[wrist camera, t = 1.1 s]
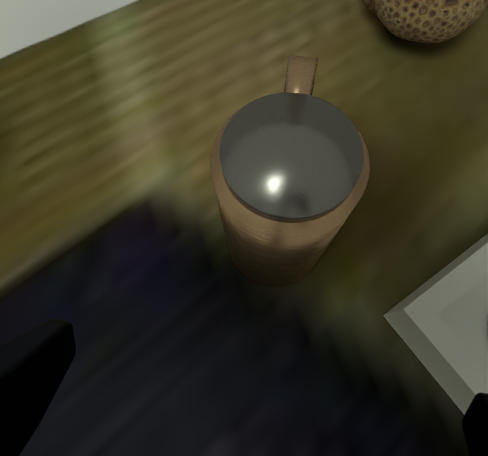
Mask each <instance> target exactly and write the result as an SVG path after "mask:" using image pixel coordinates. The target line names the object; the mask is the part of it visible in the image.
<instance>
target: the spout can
mask: <svg viewBox="0 0 488 456" xmlns="http://www.w3.org/2000/svg"><path fill="white" fill-rule="evenodd" d="M317 62H318V58H313V57H304V56H293V55H289V58H288V66H287V73H286V80H285V88H284V93H277V94H271V95H268V96H264V97H261V98H259V99H256V100H254V101H252V102H251V103H249V104H247V105H246V106H244V107H243V108H241V109H240V110H238V111H237V112H235V113H234V114H233V115H232V116H231V117H230V118H229V119H228V120H227V121H226V122H225V123H224V125H223V126H222V127H221V129H220V130H219V132H218V134H217V136H216V138H215V140H214V143H213V147H212V151H211V158H210V167H211V174H212V179H213V183H214V188H215V192H216V196H217V201H218V205H219V210H220V214H221V218H222V223H223V227H224V232H225V236H226V240H227V245H228V249H229V253H230V256H231V259H232V261H233V263H234V265H235V266H236V268H237V269H238V270H239V271H240V272H241V273H242V274H243V275H244V276H245V277H246V278H248V279H249V280H251V281H253V282H255V283H257V284H260V285H263V286H268V287H282V286H287V285H291V284H293V283H296V282H298V281H299V280H301V279H303V278H304V277H305V276H306V275H307V274H308V273H309V272H310V271H311V270H312V269H313V267H314V266H315V264H316V263H317V262H318V260H319V259H320V257H321V256H322V254H323V253H324V251H325V250H326V248H327V247H328V245H329V244H330V243H331V241H332V240H333V238H334V237H335V235H336V234H337V232H338V231H339V229H340V228H341V226H342V225H343V224H344V222H345V221H346V219H347V218H348V216H349V215H350V213H351V212H352V210H353V209H354V207H355V206H356V205H357V203H358V202H359V200H360V198H361V197H362V195H363V193H364V191H365V189H366V186H367V182H368V179H369V171H370V162H369V155H368V150H367V147H366V144H365V142H364V140H363V138H362V136H361V134H360V132H359V131H358V129H357V128H356V127H355V125H354V124H353V123H352V122H351V120H350V119H349V118H348V117H347V116H346V115H345V114H344V113H343V112H342V111H341V110H339V109H338V108H337V107H335V106H334V105H332V104H331V103H329V102H327V101H325V100H323V99H320V98H318V97H315V96H312V92H313V86H314V80H315V74H316V68H317Z"/></svg>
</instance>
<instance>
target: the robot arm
mask: <svg viewBox="0 0 488 456" xmlns="http://www.w3.org/2000/svg"><path fill="white" fill-rule="evenodd" d="M75 352H76V346H75V339H74V332H73V326H72V324H71V323H70V322H68V321H63V320H57V319H53V320H50V321H47V322H45V323H43V324H41V325H39V326H37V327H35V328H33V329H31V330H29V331H27V332H25V333H23V334H21V335H19V336H17V337H15V338H13V339H11V340H8V341H6V342H4V343H2V344H0V456H19V455H20V453H21V452H22V450H23V449H24V447H25V445H26V444H27V442H28V441H29V439H30V438H31V436H32V435H33V433H34V431H35V430H36V428H37V427H38V425H39V423H40V422H41V420H42V418H43V416H44V414H45V412H46V411H47V409H48V407H49V405H50V403H51V401H52V399H53V397H54V395H55V393H56V391H57V389H58V388H59V386H60V384H61V382H62V380H63V378H64V376H65V374H66V372H67V370H68V368H69V366H70V364H71V363H72V361H73V359H74V356H75ZM462 426H463V432H464V436H465V440H466V444H467V447H468V451H469V455H470V456H488V393H482V392H481V393H478V394H476V395H475V396H474V398H473V400H472V402H471V404H470V406H469V407H468V409H467V411H466V413H465V415H464V417H463V421H462Z"/></svg>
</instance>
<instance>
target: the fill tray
mask: <svg viewBox="0 0 488 456" xmlns="http://www.w3.org/2000/svg"><path fill="white" fill-rule="evenodd" d="M383 316H384V318H385V319H386V320H387V321H388V322H389V324H390V325H391V326H392V327H393V329H394V330H395V331H396V332H397V333H398V335H399V336H400V337H401V338H402V339H403V341H404V342H405V343H406V344H407V346H408V347H409V348H410V349H411V350H412V352H413V353H414V354H415V355H416V357H417V358H418V359H419V360H420V361H421V363H422V364H423V365H424V366H425V368H426V369H427V370H428V371H429V372H430V374H431V375H432V376H433V377H434V379H435V380H436V381H437V382H438V383H439V385H440V386H441V387H442V388H443V390H444V391H445V392H446V393H447V394H448V396H449V397H450V398H451V399H452V401H453V402H454V403H455V404H456V405H457V407H458V408H459V409H460V410H461V412H462V413H463V414H464V415H465V413H466V411H467V409H468V407H469V406H470V404H471V402H472V400H473V398H474V396H475V395H476V394H478V393H481V392H482V393H488V234H486V235H485V236H484V237H482V238H481V239H480V240H479V241H477V242H476V243H475V244H474V245H472V246H471V247H470V248H468V249H467V250H466V251H465V252H463V253H462V254H461V255H459V256H458V257H457V258H456V259H454V260H453V261H452V262H451V263H449V264H448V265H447V266H445V267H444V268H443V269H442V270H440V271H439V272H438V273H436V274H435V275H434V276H433V277H431V278H430V279H429V280H428V281H426V282H425V283H424V284H422V285H421V286H420V287H419V288H417V289H416V290H415V291H413V292H412V293H411V294H410V295H408V296H407V297H406V298H405V299H403V300H402V301H401V302H399V303H398V304H397V305H396V306H394V307H393V308H392V309H390V310H389V311H388V312H387V313H385V314H384V315H383Z"/></svg>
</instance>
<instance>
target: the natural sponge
mask: <svg viewBox="0 0 488 456" xmlns="http://www.w3.org/2000/svg"><path fill="white" fill-rule="evenodd" d="M362 1H363V3H364V4H365V5H366V6H367V8H368V9H369V10H370V11H371V12H373V13H374V14H375V15H376V16H377V18H378V19H379V20H380V21H381V22H382V24H383V25H384V26H385V27H386V28H387V29H388V30H389V31H390V32H391V33H392V34H393V35H395V36H397V37H399V38H402V39H405V40H409V41H414V42H420V43H441V42H444V41H447V40H450V39H452V38H454V37H456V36H457V35H459V34H460V33H462V32H463V31H465V30H466V29H467V28H469V27H470V26H471V25H472V24H473V23H474V22H475V21H476V20H477V19H478V18H479V17H480V15H481V14H482V13H483V11H484V10H485V8H486V7H487V6H488V0H362Z"/></svg>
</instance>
